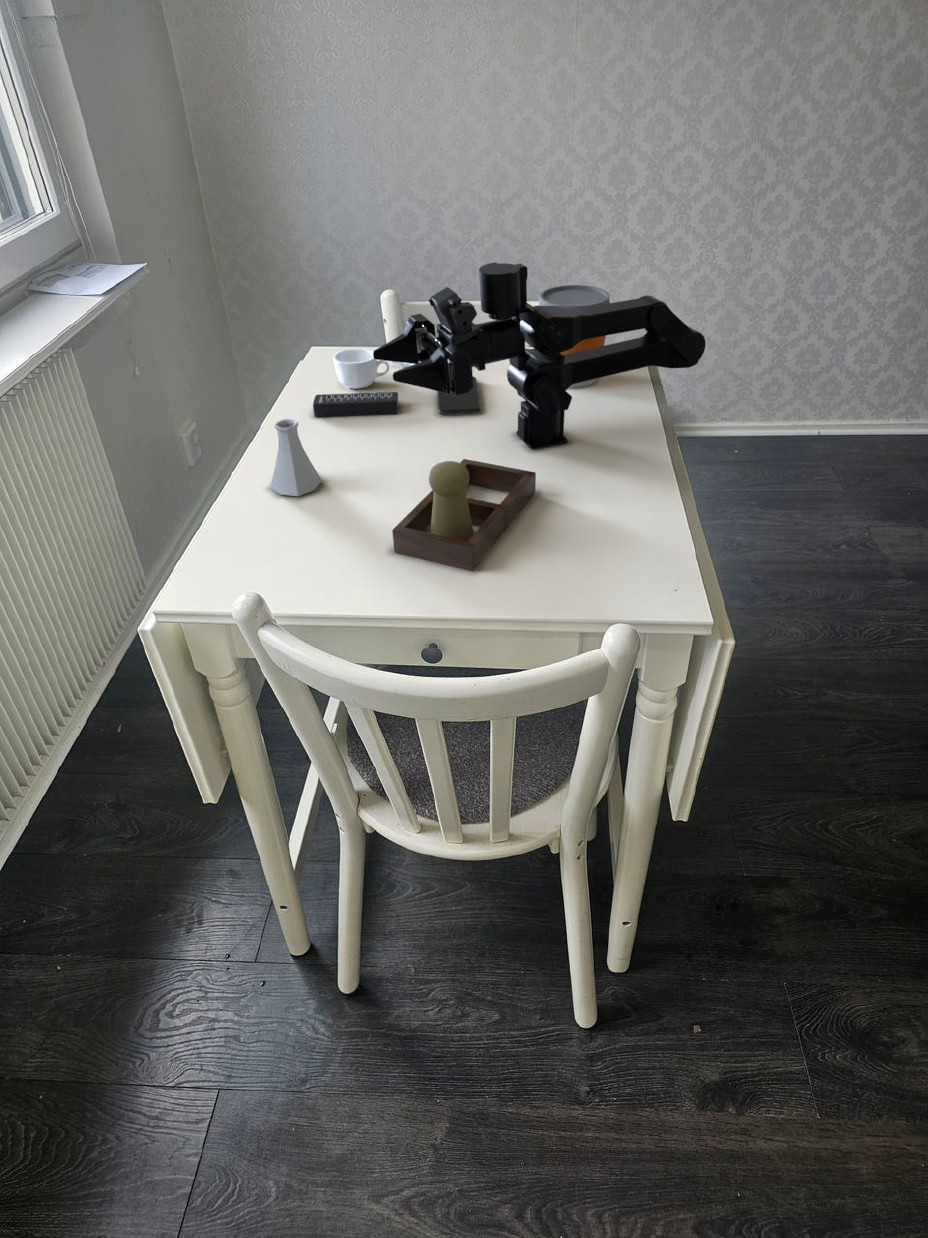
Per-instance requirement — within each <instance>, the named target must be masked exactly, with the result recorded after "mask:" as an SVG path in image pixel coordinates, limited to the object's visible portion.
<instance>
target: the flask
mask: <svg viewBox="0 0 928 1238" xmlns="http://www.w3.org/2000/svg"><path fill="white" fill-rule="evenodd" d="M273 427H274V429H276V431H277V437H278V442H277V443H278V444H277V445H278V447H277V448H278V449H277V455H276V460H275V464H274V465H275V466H274V470H273V474H272V478H271V482H270V489H271V490H273V491H275V492H276V493H277V494H278V495H281V496H292V497H300V496H302V495H305V494H308V493H310V492H313V491H315V490H316V489H317V488H318V487H319V485H320V484H321V483H322V481H323V480H322V478H321V476H320V474H319V473H318V471H317V469H316V468H315V466H314V465H313V463H312V461H311V460H310V458H309V456H308V454H307V452H306V451H305V448H304V447H303V445H302V442H301V440H300V436H299V431H298V427H299V421H297V420H295V419H291V418H285V419H281V420H278V421H277V422H276V423H275V424H274V426H273Z"/></svg>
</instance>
